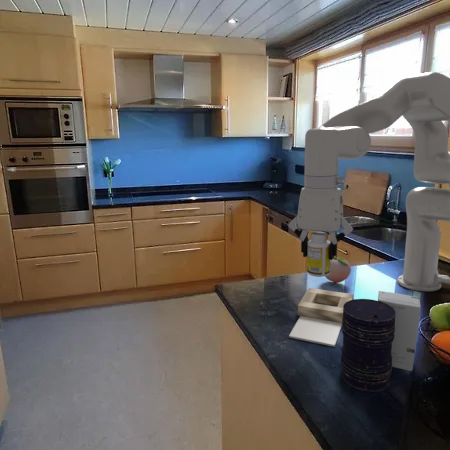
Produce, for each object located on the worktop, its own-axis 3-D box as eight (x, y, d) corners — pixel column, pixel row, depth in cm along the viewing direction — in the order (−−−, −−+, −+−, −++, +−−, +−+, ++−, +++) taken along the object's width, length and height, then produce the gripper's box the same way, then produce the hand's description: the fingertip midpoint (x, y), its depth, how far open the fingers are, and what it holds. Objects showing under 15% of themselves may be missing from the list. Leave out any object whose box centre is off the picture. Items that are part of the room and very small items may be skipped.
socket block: (353, 303, 108) (353, 294, 108) (346, 324, 97) (347, 313, 96) (308, 296, 114) (309, 287, 113) (297, 315, 103) (297, 305, 102)
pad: (342, 325, 97) (342, 323, 97) (334, 346, 87) (334, 344, 87) (300, 317, 101) (300, 316, 101) (289, 337, 92) (289, 335, 92)
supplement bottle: (325, 269, 94) (326, 230, 92) (333, 277, 89) (335, 235, 87) (303, 270, 94) (304, 231, 91) (310, 278, 88) (311, 237, 86)
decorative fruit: (315, 283, 124) (316, 254, 122) (329, 276, 130) (330, 249, 127) (340, 291, 117) (342, 261, 115) (354, 283, 123) (355, 255, 120)
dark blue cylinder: (332, 363, 81) (335, 300, 78) (376, 360, 82) (381, 297, 78) (351, 393, 71) (354, 323, 68) (400, 390, 72) (406, 319, 68)
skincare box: (371, 363, 80) (375, 300, 77) (373, 349, 86) (377, 289, 82) (414, 372, 77) (421, 306, 73) (413, 356, 82) (419, 294, 79)
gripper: (361, 181, 86) (357, 256, 90) (289, 180, 93) (288, 249, 97) (357, 186, 79) (353, 266, 83) (280, 183, 87) (280, 257, 91)
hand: (318, 256), depth 90 cm, fingers closed on supplement bottle, 5 cm apart
